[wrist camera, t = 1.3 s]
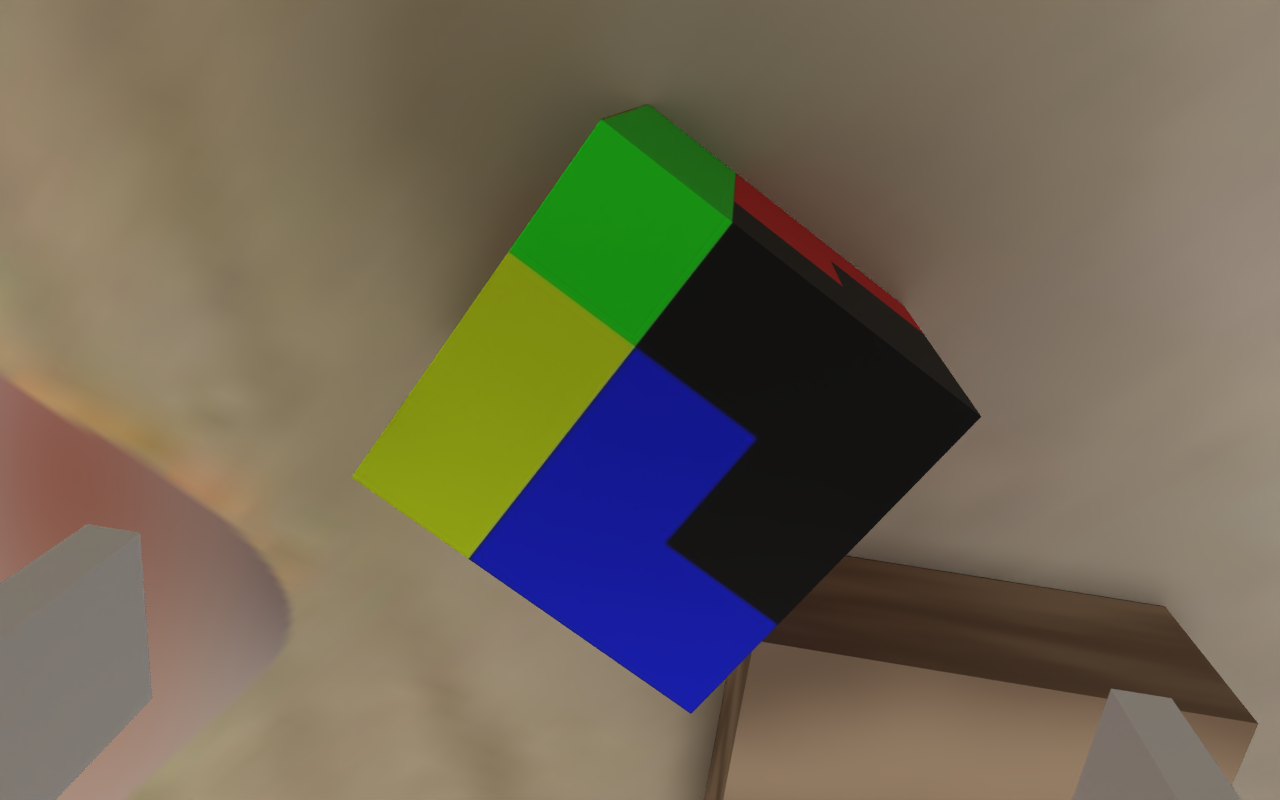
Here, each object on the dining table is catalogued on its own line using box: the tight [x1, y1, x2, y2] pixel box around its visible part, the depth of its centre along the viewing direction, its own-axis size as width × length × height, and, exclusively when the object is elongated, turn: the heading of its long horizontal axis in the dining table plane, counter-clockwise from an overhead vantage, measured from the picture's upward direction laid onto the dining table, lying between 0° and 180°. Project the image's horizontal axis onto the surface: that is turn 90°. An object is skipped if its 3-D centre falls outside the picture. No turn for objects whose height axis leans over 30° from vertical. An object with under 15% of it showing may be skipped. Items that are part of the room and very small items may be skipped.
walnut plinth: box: [704, 556, 1258, 800], centre depth 31 cm, size 14×14×6 cm
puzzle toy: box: [352, 104, 981, 713], centre depth 25 cm, size 10×10×10 cm
